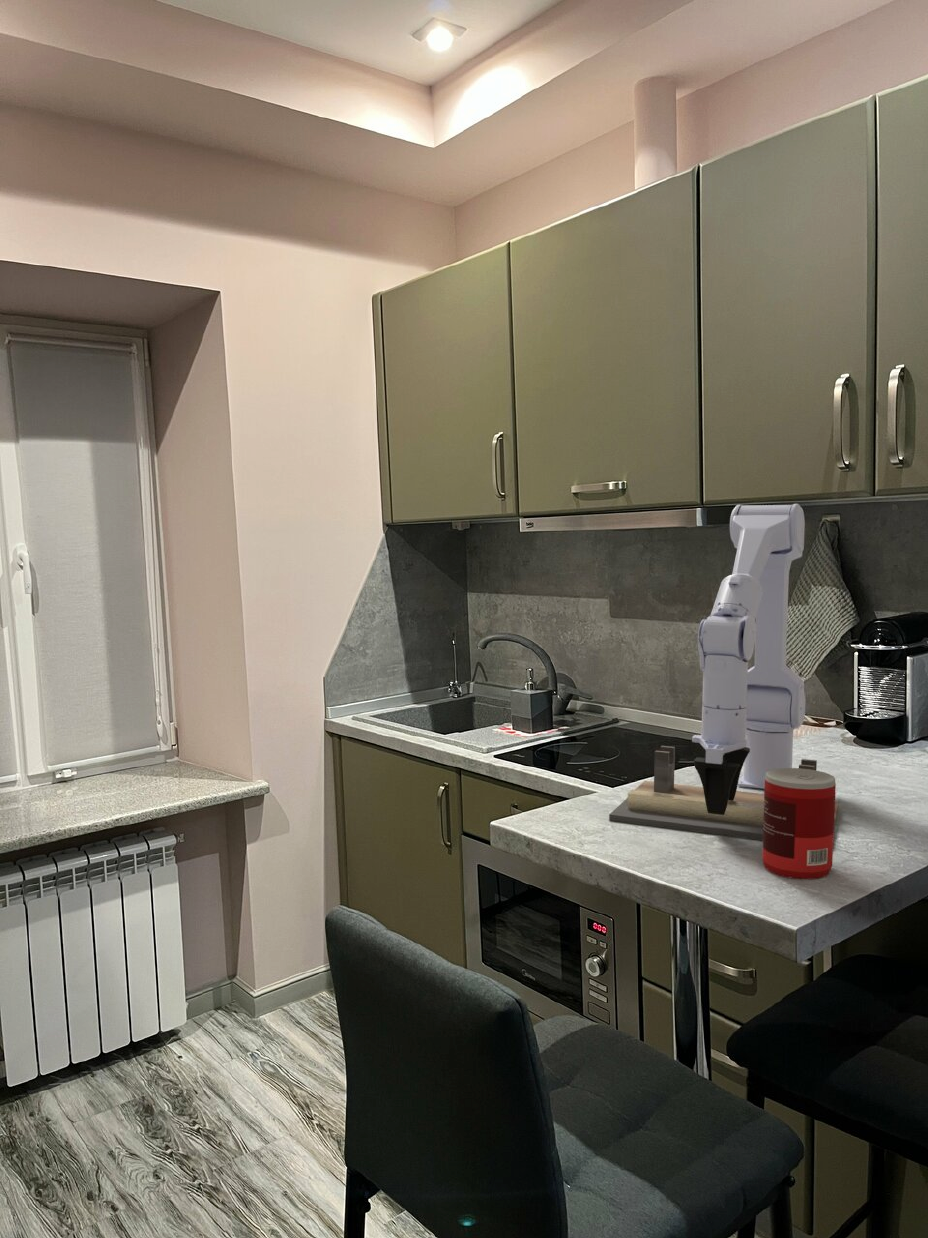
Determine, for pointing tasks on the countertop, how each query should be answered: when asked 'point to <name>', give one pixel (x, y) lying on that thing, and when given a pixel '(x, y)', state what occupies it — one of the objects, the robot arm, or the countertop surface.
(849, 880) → the countertop surface
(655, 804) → the rail
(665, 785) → the rack
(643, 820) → the mat
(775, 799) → the canned food
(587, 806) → the countertop surface
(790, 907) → the countertop surface
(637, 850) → the countertop surface
